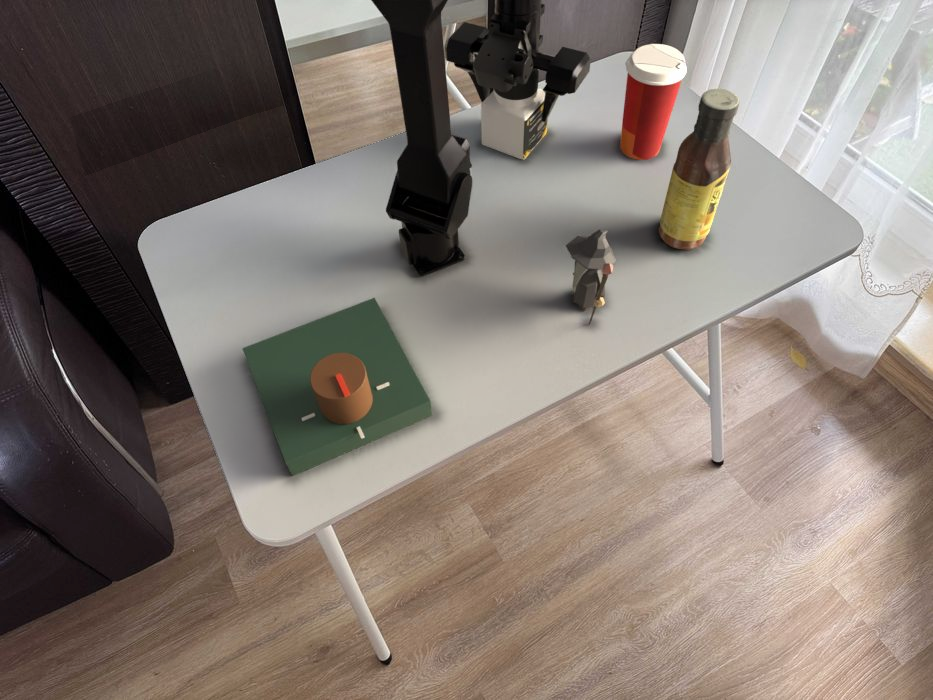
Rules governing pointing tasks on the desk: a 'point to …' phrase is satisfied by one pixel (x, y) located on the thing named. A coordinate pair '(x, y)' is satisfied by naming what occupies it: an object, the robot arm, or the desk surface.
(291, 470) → the rotary dial base
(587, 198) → the desk surface
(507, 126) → the medicine bottle
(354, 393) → the rotary dial knob
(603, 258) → the wizard figurine
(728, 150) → the sauce bottle
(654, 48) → the paper cup
